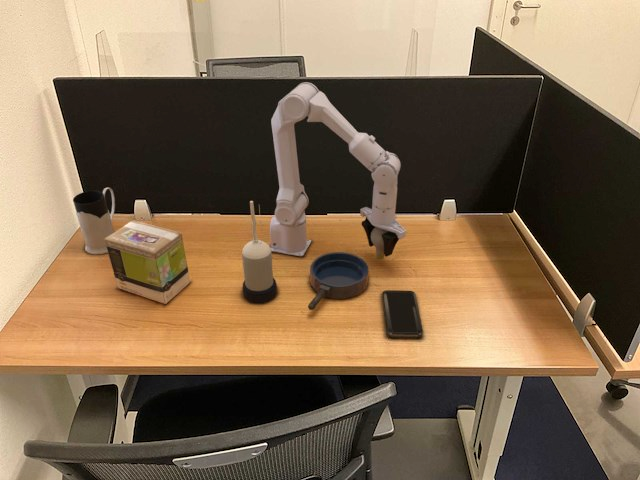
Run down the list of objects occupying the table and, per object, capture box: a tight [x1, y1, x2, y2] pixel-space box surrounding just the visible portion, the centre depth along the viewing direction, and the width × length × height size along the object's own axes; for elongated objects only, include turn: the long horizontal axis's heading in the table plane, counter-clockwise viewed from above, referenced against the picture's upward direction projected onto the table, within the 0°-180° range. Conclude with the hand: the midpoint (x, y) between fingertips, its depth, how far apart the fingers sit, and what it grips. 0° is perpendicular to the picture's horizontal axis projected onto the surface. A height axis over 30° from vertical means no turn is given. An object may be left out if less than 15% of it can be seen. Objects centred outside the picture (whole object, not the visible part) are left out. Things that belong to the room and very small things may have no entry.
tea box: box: [105, 219, 191, 305], centre depth 121 cm, size 15×10×15 cm
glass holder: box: [72, 187, 116, 255], centre depth 138 cm, size 9×14×15 cm, turn 167°
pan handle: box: [307, 284, 331, 311], centre depth 117 cm, size 9×2×2 cm, turn 153°
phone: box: [381, 289, 424, 340], centre depth 115 cm, size 8×1×15 cm
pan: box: [309, 251, 369, 300], centre depth 125 cm, size 14×14×4 cm
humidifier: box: [241, 200, 278, 305], centre depth 116 cm, size 8×8×25 cm
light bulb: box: [371, 227, 388, 261], centre depth 130 cm, size 5×6×10 cm
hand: (380, 249), depth 131 cm, fingers closed on light bulb, 5 cm apart
